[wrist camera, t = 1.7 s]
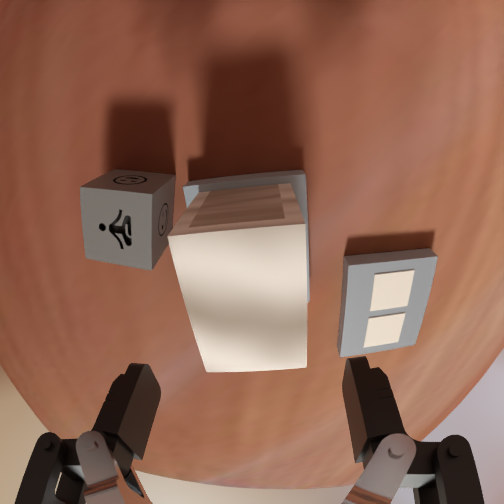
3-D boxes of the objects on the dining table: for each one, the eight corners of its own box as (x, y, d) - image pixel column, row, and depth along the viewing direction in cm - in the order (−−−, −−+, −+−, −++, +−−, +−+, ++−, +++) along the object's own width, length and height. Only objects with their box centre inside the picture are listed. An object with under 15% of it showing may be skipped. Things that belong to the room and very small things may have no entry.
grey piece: (188, 181, 20) (165, 205, 15) (302, 169, 20) (316, 190, 15) (211, 297, 25) (200, 343, 20) (307, 291, 24) (316, 336, 19)
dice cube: (172, 237, 22) (151, 270, 18) (115, 229, 22) (85, 258, 18) (176, 174, 20) (152, 194, 16) (114, 169, 20) (79, 187, 16)
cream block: (198, 192, 19) (167, 236, 13) (290, 183, 18) (305, 223, 12) (219, 304, 23) (206, 372, 17) (296, 298, 23) (306, 367, 16)
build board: (343, 256, 23) (348, 266, 21) (429, 248, 22) (438, 256, 20) (337, 346, 27) (340, 358, 26) (409, 334, 26) (415, 345, 25)
